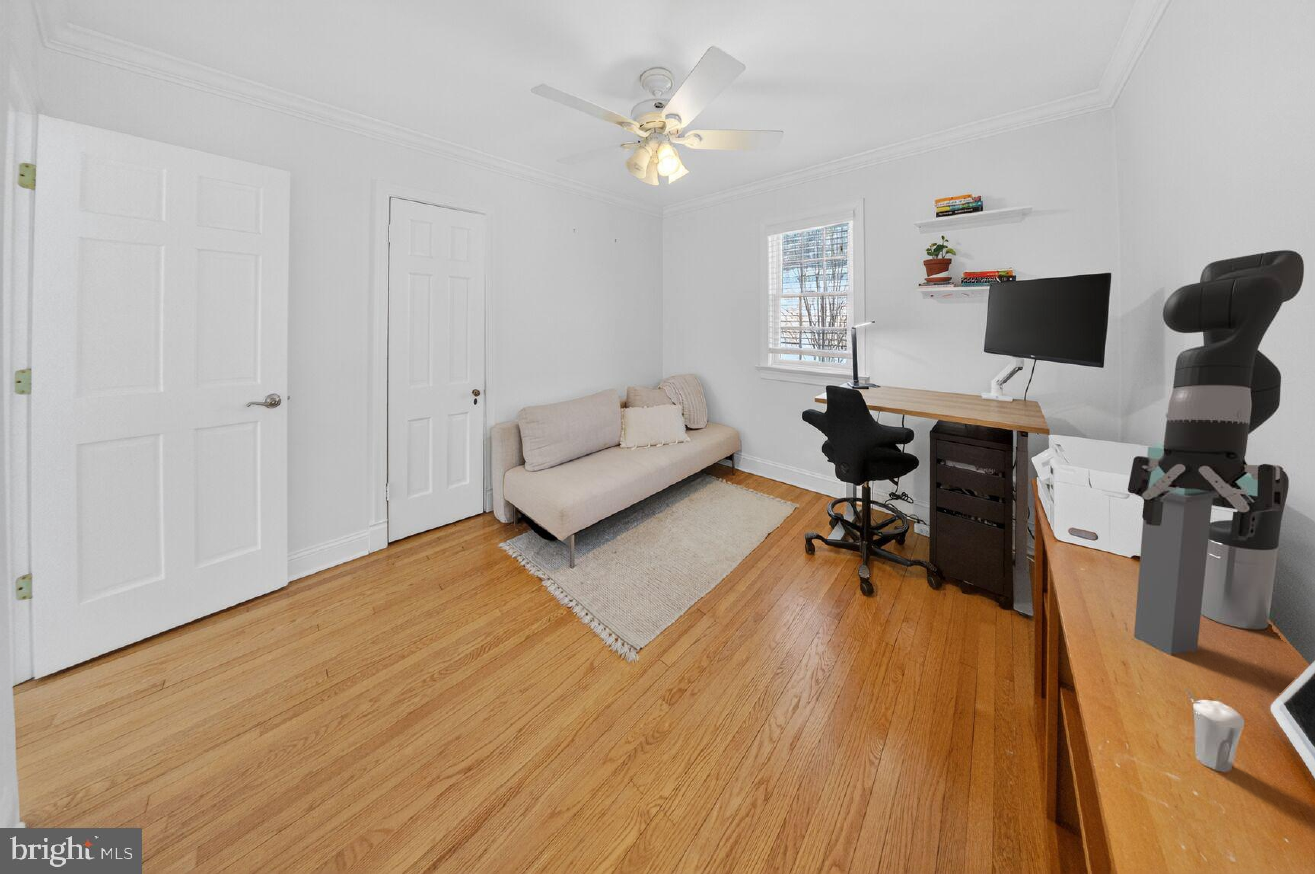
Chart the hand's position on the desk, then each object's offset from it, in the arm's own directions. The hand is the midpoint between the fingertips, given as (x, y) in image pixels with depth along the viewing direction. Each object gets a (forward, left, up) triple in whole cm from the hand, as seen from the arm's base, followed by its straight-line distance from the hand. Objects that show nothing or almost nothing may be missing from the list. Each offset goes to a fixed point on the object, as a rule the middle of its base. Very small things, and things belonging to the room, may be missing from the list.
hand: (1193, 532), depth 64 cm
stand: (-28, +10, -34) cm, 45 cm away
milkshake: (+4, +2, -34) cm, 34 cm away
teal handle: (-25, +12, -2) cm, 28 cm away
